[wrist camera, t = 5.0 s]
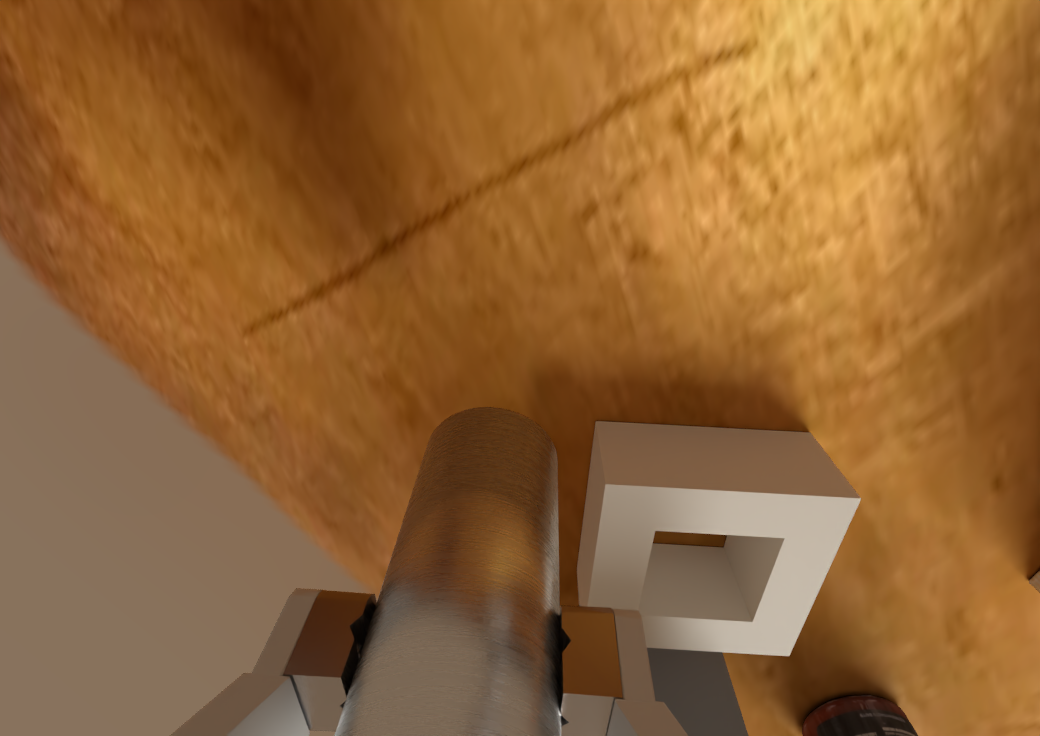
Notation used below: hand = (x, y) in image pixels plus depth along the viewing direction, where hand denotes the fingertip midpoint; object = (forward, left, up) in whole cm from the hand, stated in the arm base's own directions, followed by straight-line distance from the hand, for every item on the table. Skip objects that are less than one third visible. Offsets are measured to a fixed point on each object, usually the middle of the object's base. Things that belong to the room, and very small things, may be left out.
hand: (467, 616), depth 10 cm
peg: (0, 0, -5) cm, 5 cm away
